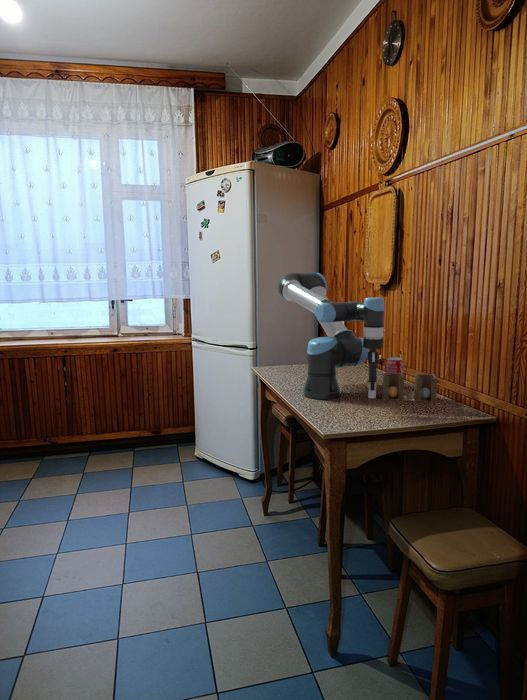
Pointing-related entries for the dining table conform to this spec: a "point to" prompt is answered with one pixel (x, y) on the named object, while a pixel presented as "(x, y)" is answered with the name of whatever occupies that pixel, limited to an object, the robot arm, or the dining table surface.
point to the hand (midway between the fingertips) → (371, 396)
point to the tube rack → (420, 382)
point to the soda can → (394, 365)
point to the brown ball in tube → (393, 392)
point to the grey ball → (425, 393)
